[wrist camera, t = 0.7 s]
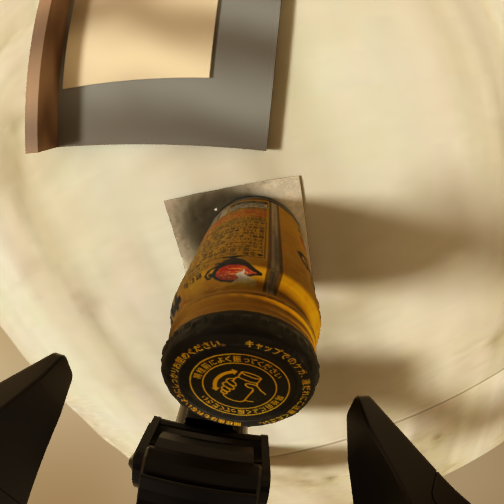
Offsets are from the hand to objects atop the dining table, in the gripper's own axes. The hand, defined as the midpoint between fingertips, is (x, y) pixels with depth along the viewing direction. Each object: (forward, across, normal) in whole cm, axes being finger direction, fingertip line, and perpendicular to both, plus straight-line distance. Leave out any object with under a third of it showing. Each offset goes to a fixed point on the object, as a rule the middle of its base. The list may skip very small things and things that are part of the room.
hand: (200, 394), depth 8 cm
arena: (+12, +6, -13) cm, 19 cm away
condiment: (+13, 0, 0) cm, 13 cm away
